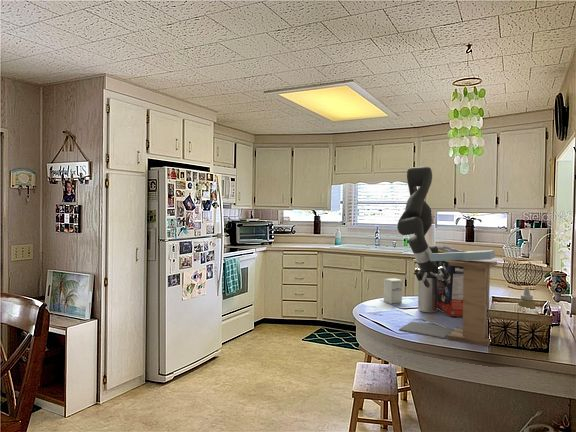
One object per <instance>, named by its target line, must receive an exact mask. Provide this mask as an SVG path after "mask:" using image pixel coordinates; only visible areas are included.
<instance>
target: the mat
mask: <svg viewBox="0 0 576 432" xmlns="http://www.w3.org/2000/svg"><path fill="white" fill-rule="evenodd" d="M455 329H456V328H453V327H448V326H447V327H446V326H441V325H435V324H430V323H429V324H428V323H423V322H416V321H410V322H408V323H407V324H405V325H404V326H402V327H400V328H399V329H398V330H399V331H400V332H406V333H407V332H408V333H410V334H411V333H412V334H418V335H422V336H428V337H433V338H439V339H446V338H448V334H450V333H451V332H452V331H453V330H455Z"/></svg>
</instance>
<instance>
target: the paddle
mask: <svg viewBox="0 0 576 432" xmlns="http://www.w3.org/2000/svg"><path fill="white" fill-rule="evenodd" d="M495 258H496V255H495V250H494V249H490V250H489V249H488V250H486V249H485V250H470V251H469V250H467V251H465V252H451V253H432V254H430V261H450V260H487V261H490V260H492V259H495Z"/></svg>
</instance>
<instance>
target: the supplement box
mask: <svg viewBox="0 0 576 432" xmlns="http://www.w3.org/2000/svg"><path fill="white" fill-rule="evenodd" d="M383 302H385V303H389V304H390V305H391V304H398V303H399V304H401V303H402V302H403V279H399V278H396V277H394V278H392V277H391V278H384V279H383Z"/></svg>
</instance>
